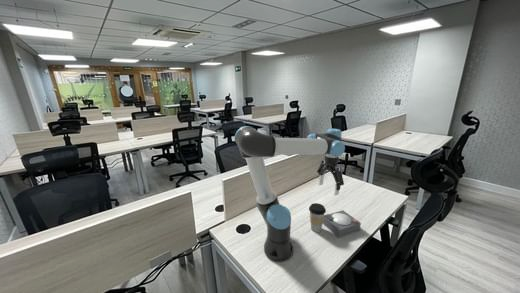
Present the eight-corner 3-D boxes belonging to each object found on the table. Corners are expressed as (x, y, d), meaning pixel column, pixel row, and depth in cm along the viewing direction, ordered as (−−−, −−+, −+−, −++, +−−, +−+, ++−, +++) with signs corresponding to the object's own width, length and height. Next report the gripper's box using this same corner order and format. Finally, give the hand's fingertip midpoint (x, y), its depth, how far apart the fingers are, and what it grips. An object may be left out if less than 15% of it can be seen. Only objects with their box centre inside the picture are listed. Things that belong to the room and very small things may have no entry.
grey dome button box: (338, 237, 114) (339, 228, 112) (322, 223, 127) (322, 214, 125) (359, 230, 120) (361, 221, 118) (342, 216, 132) (343, 208, 131)
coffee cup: (324, 235, 116) (326, 212, 112) (307, 233, 118) (309, 210, 114) (323, 224, 125) (325, 203, 121) (307, 223, 127) (308, 201, 123)
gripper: (354, 162, 107) (349, 198, 113) (322, 149, 129) (319, 180, 135) (343, 163, 104) (338, 200, 110) (313, 150, 126) (310, 181, 132)
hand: (328, 189), depth 122 cm, fingers open, 13 cm apart
